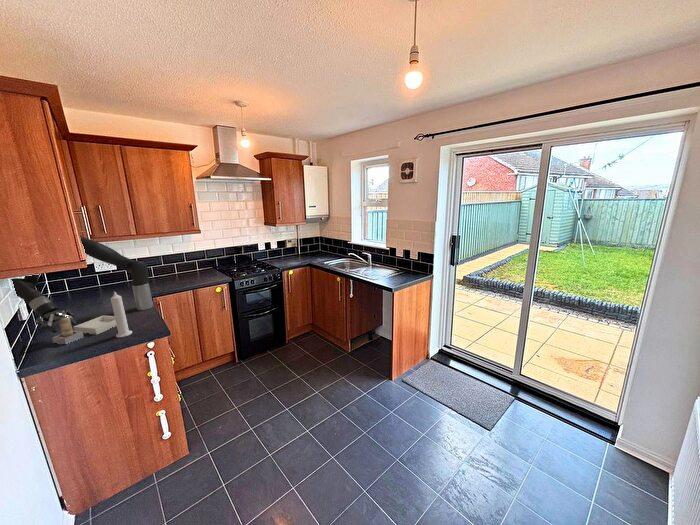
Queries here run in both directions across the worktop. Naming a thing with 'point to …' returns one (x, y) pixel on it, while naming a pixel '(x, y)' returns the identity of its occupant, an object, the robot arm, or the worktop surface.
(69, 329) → the peg
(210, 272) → the worktop surface
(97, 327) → the tray
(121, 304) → the candle
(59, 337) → the collar
